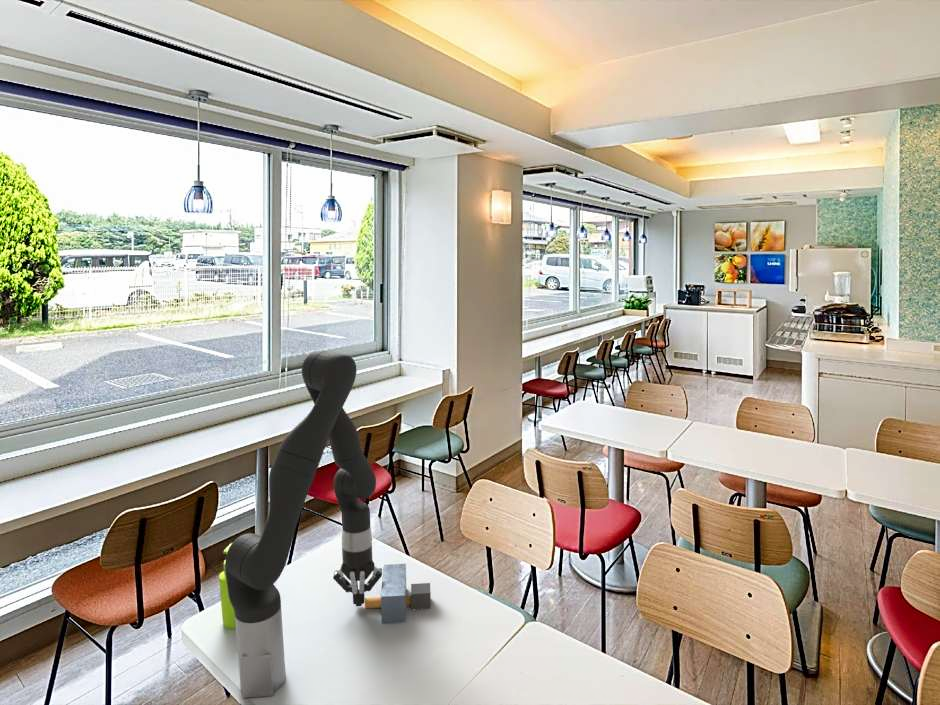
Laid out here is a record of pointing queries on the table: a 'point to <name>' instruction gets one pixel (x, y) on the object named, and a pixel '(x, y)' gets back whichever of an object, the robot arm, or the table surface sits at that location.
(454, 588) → the table surface
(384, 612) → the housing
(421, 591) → the hammer
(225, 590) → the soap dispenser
